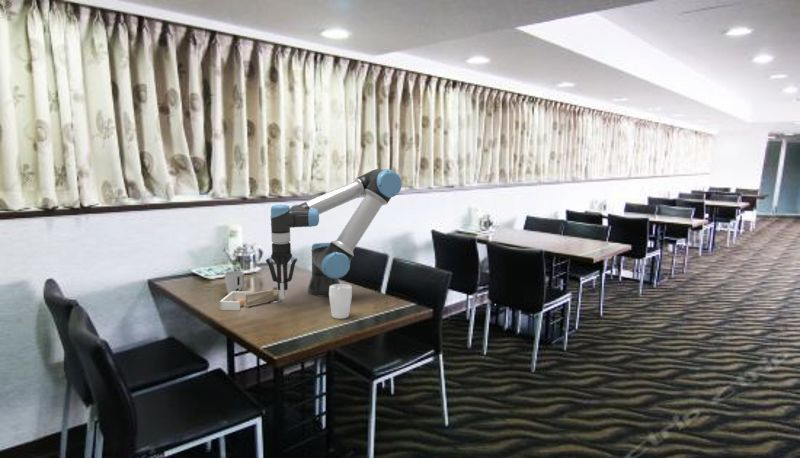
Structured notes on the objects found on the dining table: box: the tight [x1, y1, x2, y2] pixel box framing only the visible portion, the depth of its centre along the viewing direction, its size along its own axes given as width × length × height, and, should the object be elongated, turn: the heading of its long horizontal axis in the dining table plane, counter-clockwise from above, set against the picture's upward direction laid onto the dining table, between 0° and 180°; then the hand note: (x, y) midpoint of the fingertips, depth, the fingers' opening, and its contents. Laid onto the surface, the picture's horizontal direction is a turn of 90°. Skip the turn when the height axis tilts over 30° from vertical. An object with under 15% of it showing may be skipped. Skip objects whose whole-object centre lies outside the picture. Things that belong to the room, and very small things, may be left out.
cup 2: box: [328, 283, 353, 320], centre depth 182 cm, size 9×9×12 cm
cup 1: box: [224, 270, 245, 295], centre depth 206 cm, size 8×8×10 cm
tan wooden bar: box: [245, 286, 280, 307], centre depth 195 cm, size 3×14×5 cm, turn 136°
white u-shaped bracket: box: [218, 291, 251, 312], centre depth 193 cm, size 8×15×4 cm, turn 1°
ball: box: [235, 298, 245, 308], centre depth 191 cm, size 4×4×4 cm
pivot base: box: [267, 297, 283, 304], centre depth 199 cm, size 6×6×1 cm
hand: (283, 297), depth 194 cm, fingers closed
